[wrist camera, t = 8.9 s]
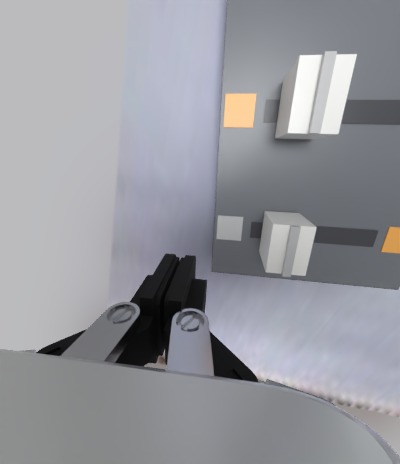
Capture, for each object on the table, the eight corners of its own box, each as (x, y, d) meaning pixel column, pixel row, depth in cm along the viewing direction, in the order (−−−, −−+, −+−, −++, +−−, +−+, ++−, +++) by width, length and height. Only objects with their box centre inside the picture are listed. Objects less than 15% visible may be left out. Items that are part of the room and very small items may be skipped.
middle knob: (325, 79, 15) (361, 50, 11) (313, 139, 17) (341, 133, 12) (283, 79, 16) (302, 51, 11) (274, 138, 17) (289, 132, 13)
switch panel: (534, -156, 13) (623, -248, 10) (377, 273, 23) (399, 290, 20) (236, -121, 15) (238, -188, 12) (213, 258, 25) (211, 272, 22)
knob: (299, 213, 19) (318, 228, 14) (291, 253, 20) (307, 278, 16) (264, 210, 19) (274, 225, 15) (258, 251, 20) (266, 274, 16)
